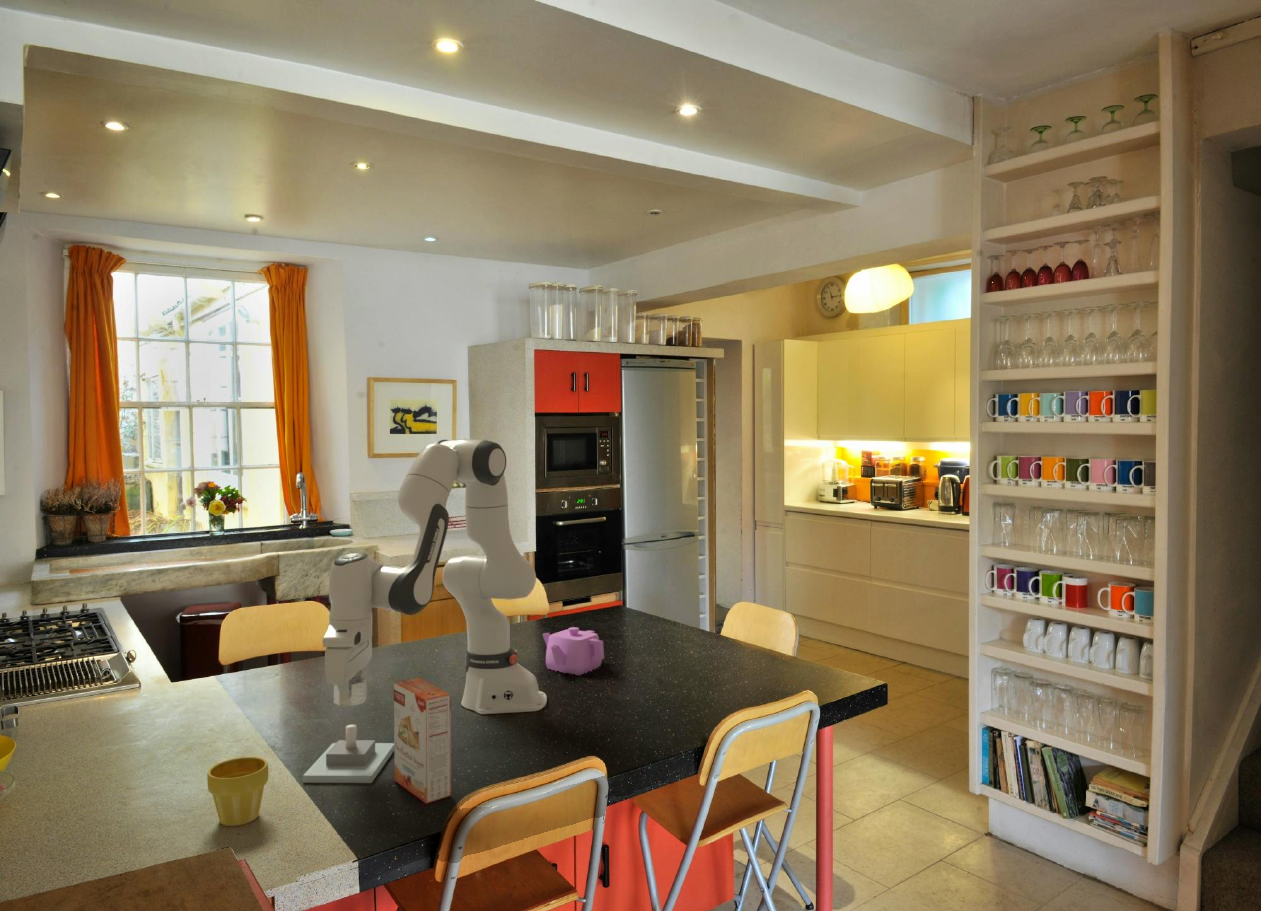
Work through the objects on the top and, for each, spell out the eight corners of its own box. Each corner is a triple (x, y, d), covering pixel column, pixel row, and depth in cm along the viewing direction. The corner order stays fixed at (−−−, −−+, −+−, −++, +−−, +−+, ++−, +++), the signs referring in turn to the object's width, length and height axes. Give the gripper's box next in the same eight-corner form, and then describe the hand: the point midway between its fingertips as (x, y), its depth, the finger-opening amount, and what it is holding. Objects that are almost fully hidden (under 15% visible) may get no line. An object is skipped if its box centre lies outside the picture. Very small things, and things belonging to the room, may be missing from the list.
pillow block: (394, 749, 193) (394, 712, 193) (371, 782, 175) (371, 742, 175) (332, 749, 193) (332, 712, 193) (303, 782, 175) (302, 741, 175)
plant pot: (194, 825, 156) (194, 772, 156) (238, 802, 166) (238, 752, 165) (238, 835, 152) (237, 781, 152) (281, 811, 162) (280, 760, 162)
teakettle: (606, 674, 253) (606, 633, 253) (549, 677, 249) (549, 636, 249) (595, 659, 270) (595, 620, 270) (541, 662, 266) (542, 622, 266)
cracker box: (392, 782, 176) (392, 681, 175) (419, 774, 180) (419, 676, 179) (424, 805, 165) (424, 698, 164) (452, 797, 169) (452, 692, 168)
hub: (369, 696, 187) (369, 676, 187) (360, 705, 180) (360, 684, 180) (340, 696, 187) (340, 676, 186) (330, 705, 180) (330, 684, 180)
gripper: (351, 619, 193) (351, 679, 194) (319, 641, 173) (319, 708, 173) (379, 619, 193) (379, 679, 194) (350, 641, 173) (350, 709, 173)
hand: (350, 693), depth 183 cm, fingers closed on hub, 6 cm apart
